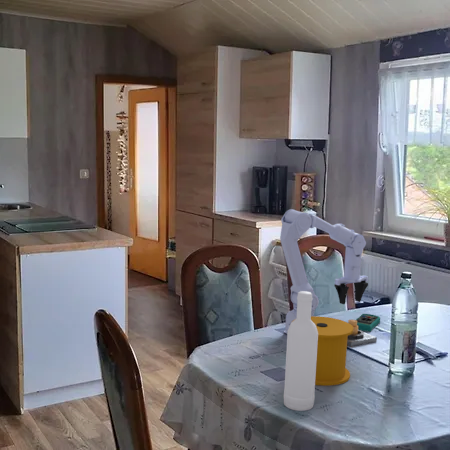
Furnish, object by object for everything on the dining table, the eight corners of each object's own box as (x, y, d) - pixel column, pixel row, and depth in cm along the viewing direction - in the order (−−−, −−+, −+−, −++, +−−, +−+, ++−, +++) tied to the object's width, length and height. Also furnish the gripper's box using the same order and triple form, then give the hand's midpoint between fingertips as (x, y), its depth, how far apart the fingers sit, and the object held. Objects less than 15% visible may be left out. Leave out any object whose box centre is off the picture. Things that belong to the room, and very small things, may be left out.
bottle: (277, 403, 163) (282, 291, 158) (296, 395, 168) (302, 287, 164) (301, 414, 157) (307, 298, 153) (320, 405, 163) (327, 293, 158)
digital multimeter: (380, 323, 238) (381, 315, 238) (370, 333, 225) (370, 325, 225) (361, 319, 242) (362, 312, 241) (350, 329, 229) (350, 321, 228)
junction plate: (350, 346, 209) (351, 339, 208) (326, 336, 219) (327, 329, 218) (376, 341, 215) (377, 334, 215) (352, 331, 225) (352, 324, 225)
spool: (352, 367, 191) (355, 319, 188) (347, 389, 173) (351, 337, 171) (293, 359, 195) (296, 312, 193) (283, 380, 178) (286, 330, 176)
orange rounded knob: (351, 337, 214) (352, 323, 213) (343, 333, 217) (344, 319, 216) (360, 335, 216) (361, 321, 215) (351, 332, 219) (352, 318, 218)
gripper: (345, 269, 217) (342, 307, 219) (375, 266, 225) (372, 302, 227) (331, 265, 223) (329, 302, 225) (361, 262, 231) (358, 298, 233)
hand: (350, 302), depth 226 cm, fingers open, 7 cm apart
